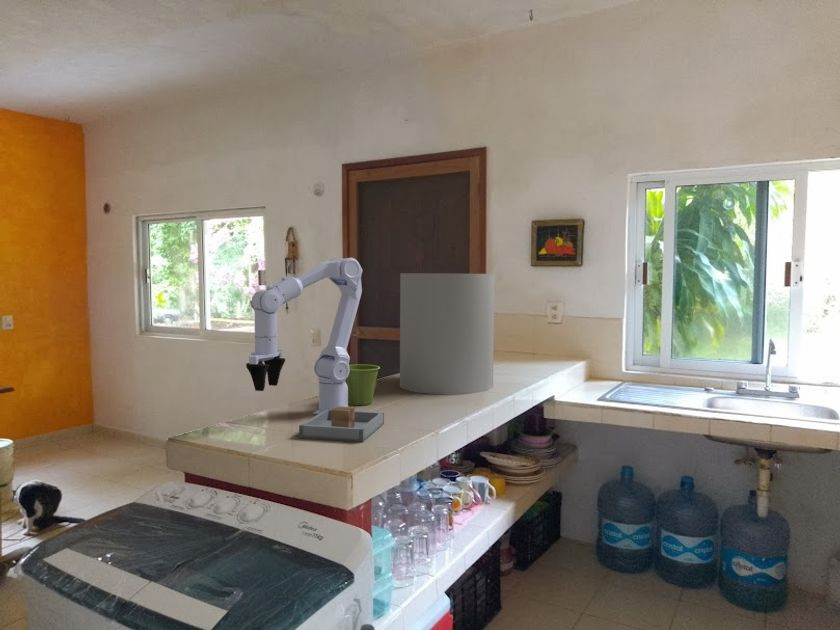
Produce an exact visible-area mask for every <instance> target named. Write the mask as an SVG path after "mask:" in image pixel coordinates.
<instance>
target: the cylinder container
mask: <svg viewBox="0 0 840 630" xmlns="http://www.w3.org/2000/svg"><path fill="white" fill-rule="evenodd" d="M495 274H496V273H443V272H442V273H441V272H439V273H438V272H437V273H434V272H432V273H431V272H430V273H428V272H427V273H426V272H425V273H424V272H423V273H421V272H420V273H418V272H417V273H415V272H414V273H410V272H409V273H408V272H407V273H404V272H403V273H400V275H399V276H400V277H399V279H400V287H399V288H400V289H399V290H400V291H399V292H400V294H399V297H400V298H399V300H400V301H399V303H400V304H399V305H400V306H399V315H400V316H399V318H400V319H399V387H400V388H402V389H405V390H406V391H408V390H409V392H415V393H423V394H431V395H432V394H433V395H434V394H435V395H468V394H470V395H471V394H477V393H481V392H483V393H484V392H488V391H490V390H491V389H492V388H494V354H495V353H494V351H495V350H494V349H495V348H494V345H495V344H494V343H495V341H494V340H495V283H496V282H495V281H496V279H495V278H496V275H495Z"/></svg>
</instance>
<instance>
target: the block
mask: <svg viewBox="0 0 840 630" xmlns="http://www.w3.org/2000/svg"><path fill="white" fill-rule="evenodd" d="M355 408H356V407H355V406H348V407H344V406H337V407H335V408H334V409H332V410H331V426H333V427H348V428H353V427H354V426H355V411H356V410H355Z"/></svg>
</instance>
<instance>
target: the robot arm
mask: <svg viewBox="0 0 840 630" xmlns="http://www.w3.org/2000/svg"><path fill="white" fill-rule="evenodd" d="M362 275H363V268H362V267H361V264H360V263H359V261H358V260H357V259H355V258H354V257H346V258H334V257H333V258H330V259H328V260H326V261H323V262H321V263H319V264H318V265H316V266H314V267H312V268H311V269H309V270H308V271H306V272H304V273H303V274H301V275H299V276H298V277H294V276H287V275H285V276H283V277H281V280H280V281H278V282H276V283H275V284H269V285H267V286H266V289H260V290H258V291H256V292H255V293H254V294H253V295H252V297H251V300H249V304H250V307H251V309H252V310H253V312H254V351H253V352H251V353H250V356H249V357H248V361H249V362H247V363H246V366H245V368H246V369H247V370H248V372H249V374H250V376H251V379H252V383H253V386H254V390H255V392H263V391H264V390H265V388H266V387H265V386H266V377H267V381H268V382H267V383H268V386H272V387H273V386H274V387H275V386H278V384H279V379H280V375H281V371H282V369H283V366H284V365H285V363H286V358H284V357H283V350H282V349H278V311H280V309H281V307H282V306H283V305H285V304H287V303H289V302H290V301H292V300H294V299H296V298H298V297H300V295H302V292H303V289H305V288H307V287H309V286H312V285H314V284H315V283H317V282H319V281H322V280H324V279H326V278H327V279H329V280H330V281H331V282H332V283H333V284H335V286H337V288H338V290H339V291H340V293H341V295H340V298H339V303H338V306H337V309H336V314H335V317H334V321H333V325H332V328H331V332H330V334H329V335H330V336H329V340H328V343H327V346H326V347H324V348H323V349H322V350H321V351H320V355H319V357H318V358H317V359H316V361H315V363H314V366H313V369H314V370H313V371H314V373H315V375H316V376H317V379H318V409H317V410H316V411H313V414H314V415H318V414H320V413H321V412H323V411H325V410H326V409H330V410H332V409H334V408H335V407H337V406H344V407H349V403H348V386H347V384H346V383H345V379H346V378H347V377H348V375H349V371H350V369H349V365H350V360H351V357H350V355H349V353H348V350H347V348H348V345H349V342H350V339H351V334H352V330H353V326H354V323H355V319H356V314H357V311H358V308H359V304H360V300H361V297H362V293H363V288H362Z"/></svg>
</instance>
